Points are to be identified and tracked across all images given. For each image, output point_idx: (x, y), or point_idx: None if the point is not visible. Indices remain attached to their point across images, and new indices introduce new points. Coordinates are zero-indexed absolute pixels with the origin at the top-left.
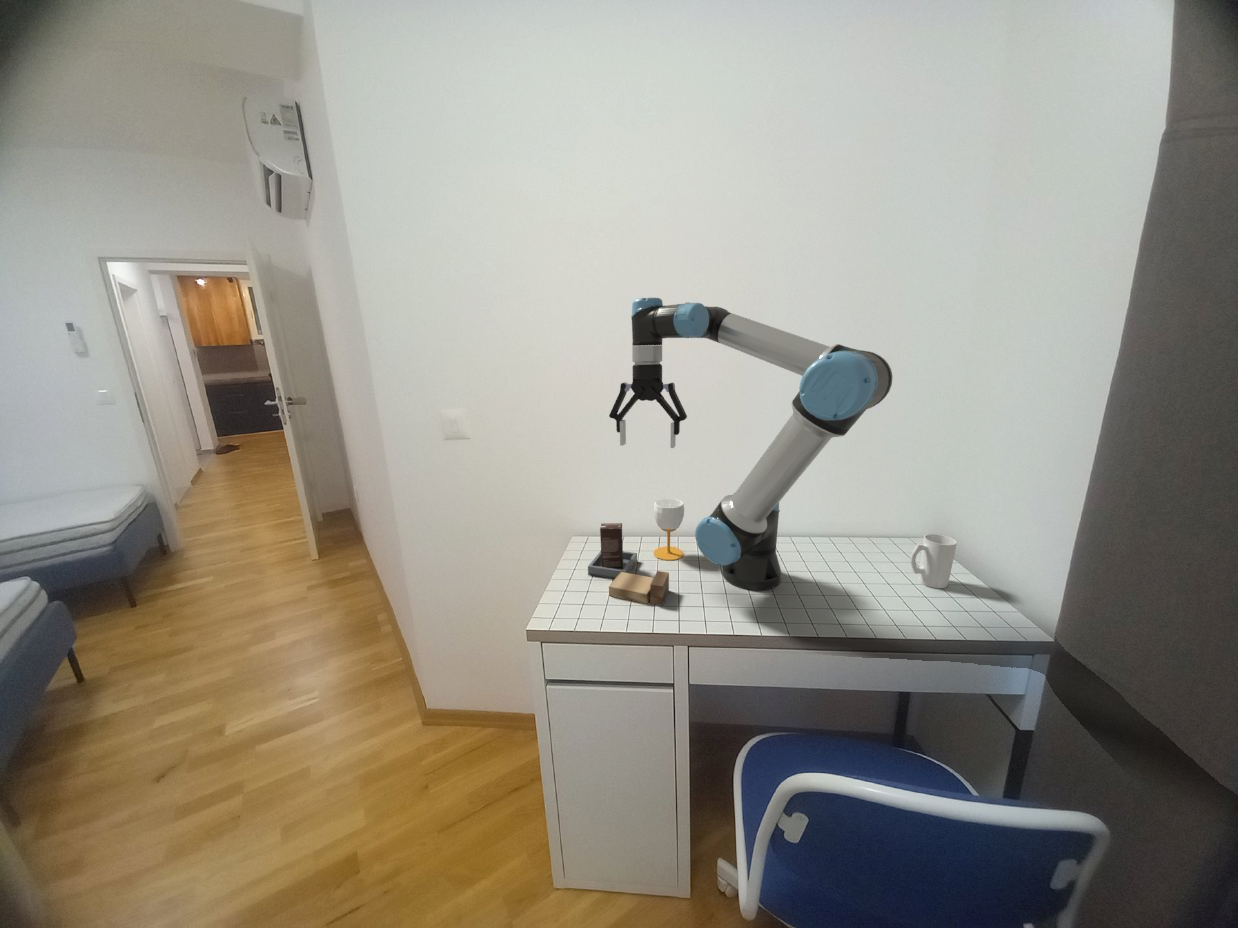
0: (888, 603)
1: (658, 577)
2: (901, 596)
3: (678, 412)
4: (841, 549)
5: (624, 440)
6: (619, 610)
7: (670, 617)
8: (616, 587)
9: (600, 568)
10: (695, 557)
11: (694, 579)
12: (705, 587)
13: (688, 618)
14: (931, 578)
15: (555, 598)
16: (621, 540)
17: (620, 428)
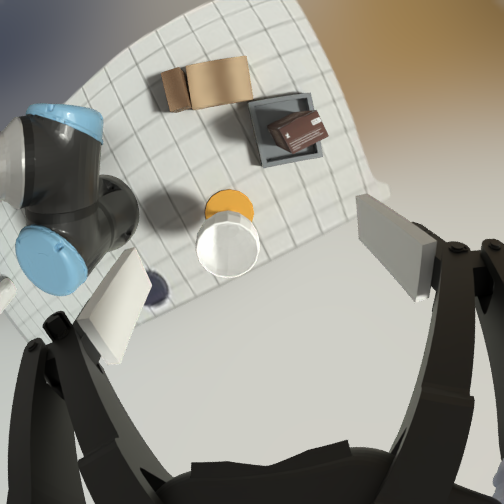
0: (11, 232)
1: (177, 89)
2: (10, 250)
3: (33, 368)
4: (72, 320)
5: (365, 227)
6: (213, 39)
7: (148, 62)
8: (234, 58)
9: (289, 95)
10: (187, 222)
11: (158, 159)
12: (137, 148)
13: (128, 74)
14: (3, 281)
15: (307, 27)
16: (274, 127)
17: (408, 223)
